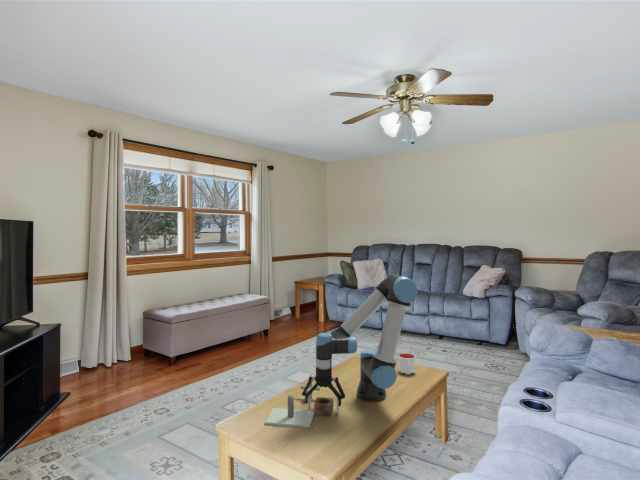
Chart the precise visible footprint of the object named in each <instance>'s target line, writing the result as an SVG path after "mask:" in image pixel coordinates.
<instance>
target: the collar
mask: <svg viewBox="0 0 640 480" xmlns="http://www.w3.org/2000/svg"><path fill="white" fill-rule="evenodd" d="M313 411H314V416H319V417H320V416H321V417H322V416H324V417H332V415H333V412H334V397H321V396H320V397H319V396H317V397H316V399H315V401H314V405H313Z"/></svg>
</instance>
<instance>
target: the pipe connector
mask: <svg viewBox="0 0 640 480" xmlns="http://www.w3.org/2000/svg"><path fill="white" fill-rule="evenodd" d="M314 385H315V383H314V382H313V381H311V383H310V385H309V387H308V389H307V391H306V393H307V392H308V391H309V390H310V389H311V388H312V387H313V386H314ZM305 387H306V385H302V384H301V385H300V390H304V389H305ZM314 391H318V392H320V391H321V387H320V386H318V387H317V388H316V389H315V390H314ZM311 399H313V392H312V393H311V394H310V400H311Z"/></svg>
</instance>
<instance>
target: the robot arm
mask: <svg viewBox="0 0 640 480" xmlns="http://www.w3.org/2000/svg"><path fill="white" fill-rule="evenodd" d="M373 290H374V291H373V293H371V295H370V296H368V297H367V299H366V300H364V301H363V302H362V303H361V304H360V305H359V307H357V309H356V310H355V311H353V313H351V315H349V316H348V318H347V319H346V320H344V321H343V322H342V323H341V325H339V326H338V327H337V328H334V329H332V330H331V331H330V332H320V333H317V335H316V337H315V338H316V342H315V376H313V375H309V377H308V381H307V383H306V385H305V386H306V387H305V389H303V391H302V393H301V396H304V397H305V404H306V405H307V410H309V411H311V399H310V394H311V393H312V394H313V392H314V391H316V390H315V389H316V388H317V387H320V388H328V389H330V391H332V393H333V394H334V395H335V397H336V415H338V414H339V411H340V407H341V406H342V399H343V400H344V399H345V398H346V394H345V391H344V390H343V387H342V386H341V383H340V382H339V381H340V380H339V376H336V377H333V376H332V375H333V369H332V365H333V364H332V363H333V355H340V354H342V355H344V354H345V355H346V354H349V355H350V354H355V353H357V351H358V340H357V338H356V337H355V336H352V335H354V334H355V333H356V332H357V331H358V330H359V328H361V327H362V326H363V325H364V324H365V323H366V321H367V320H369V319H370V318H371V317H372V316H373V315H374V313H376V311H378V310H379V309H380V308H381V307H382V306H383V305H384V304H385V303H387V304H388V307H387V311H386V313H385V318H384V323H383V326H382V331H381V334H380V339H379V343H378V346H377V349H375V350H374V349H370V350H369V349H367V350H363V351H362V352H360V357H359V359H360V361H359V364H360V369H359V370H360V372H359V373H360V375H359V377H360V380H359V383H358V387H357V388H356V396H357V397H358V399H361V400H364V401H367V402H380V401H383V400H385V399H386V398H387V390H386V389H389V388H391V387H392V386H393V385H394V384H395V383H396V382H397V379H398V376H397V375H398V374H397V371H396V365H397V360H396V358H395V355H396V352H397V347H398V345H399V339H400V335H401V330H402V327H403V323H404V319H405V315H406V311H407V309H409V308H410V307H411V304H412V302H413V301H414V300H415V299H416V298H417V296H418V291H419V290H418V286H417V283H416V282H415V281H414V280H413V279H411V278H409V277H407V276H403V275H399V274H390V275H389V276H386V277H385V278H384V279H383V280H382V281H381V282H380V283H379V284H377V286H376V287H374V289H373ZM311 381H312V382H313V381H315V383H314V386H313V387H312V388H311V389H310V390H309V391H308V392H307V393H306V391H307V389H308V387H309V385H310V383H311ZM332 382H333V383H334V384H335V386H336V387H335V386H334V384H333V383H332Z"/></svg>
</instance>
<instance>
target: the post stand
mask: <svg viewBox="0 0 640 480" xmlns="http://www.w3.org/2000/svg"><path fill="white" fill-rule="evenodd" d="M314 418H315V415H314V410H310V411H309V410H308V409H307V410H305V409H295V396H294V395H291V394H290V395H288V396H287V408H280V407H278V408H277V407H273V408H272V410H271V411H270V413H269V415H268V417H267V418H266V420H265V421H264V424H265V425H268V426H269V425H270V426H280V427H292V428H305V429H307V428H308V429H311V425H312V423H313V420H314Z"/></svg>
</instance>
